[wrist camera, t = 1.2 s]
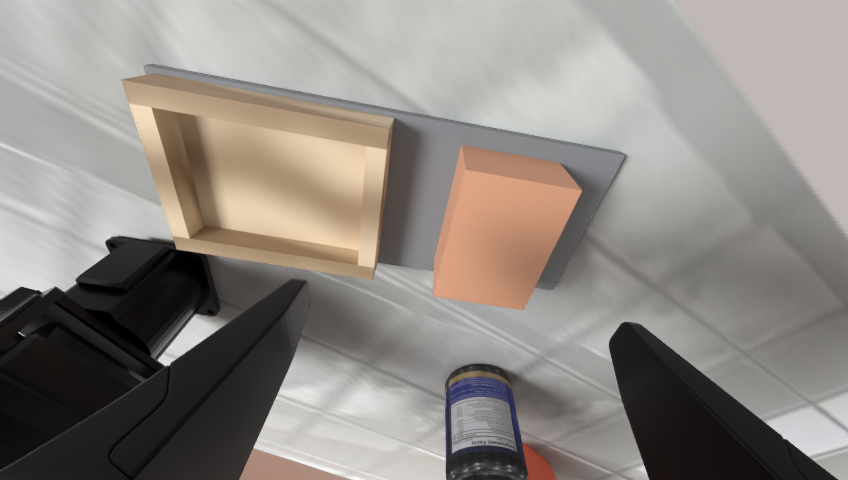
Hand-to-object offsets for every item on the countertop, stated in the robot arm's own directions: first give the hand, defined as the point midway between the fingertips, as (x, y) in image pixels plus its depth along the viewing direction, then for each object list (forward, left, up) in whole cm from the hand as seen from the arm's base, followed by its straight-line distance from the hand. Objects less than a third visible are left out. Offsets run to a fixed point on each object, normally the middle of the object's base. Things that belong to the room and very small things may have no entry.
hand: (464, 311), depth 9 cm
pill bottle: (-21, -7, -12) cm, 25 cm away
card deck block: (-3, -3, -11) cm, 12 cm away
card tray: (-3, +10, -11) cm, 15 cm away
